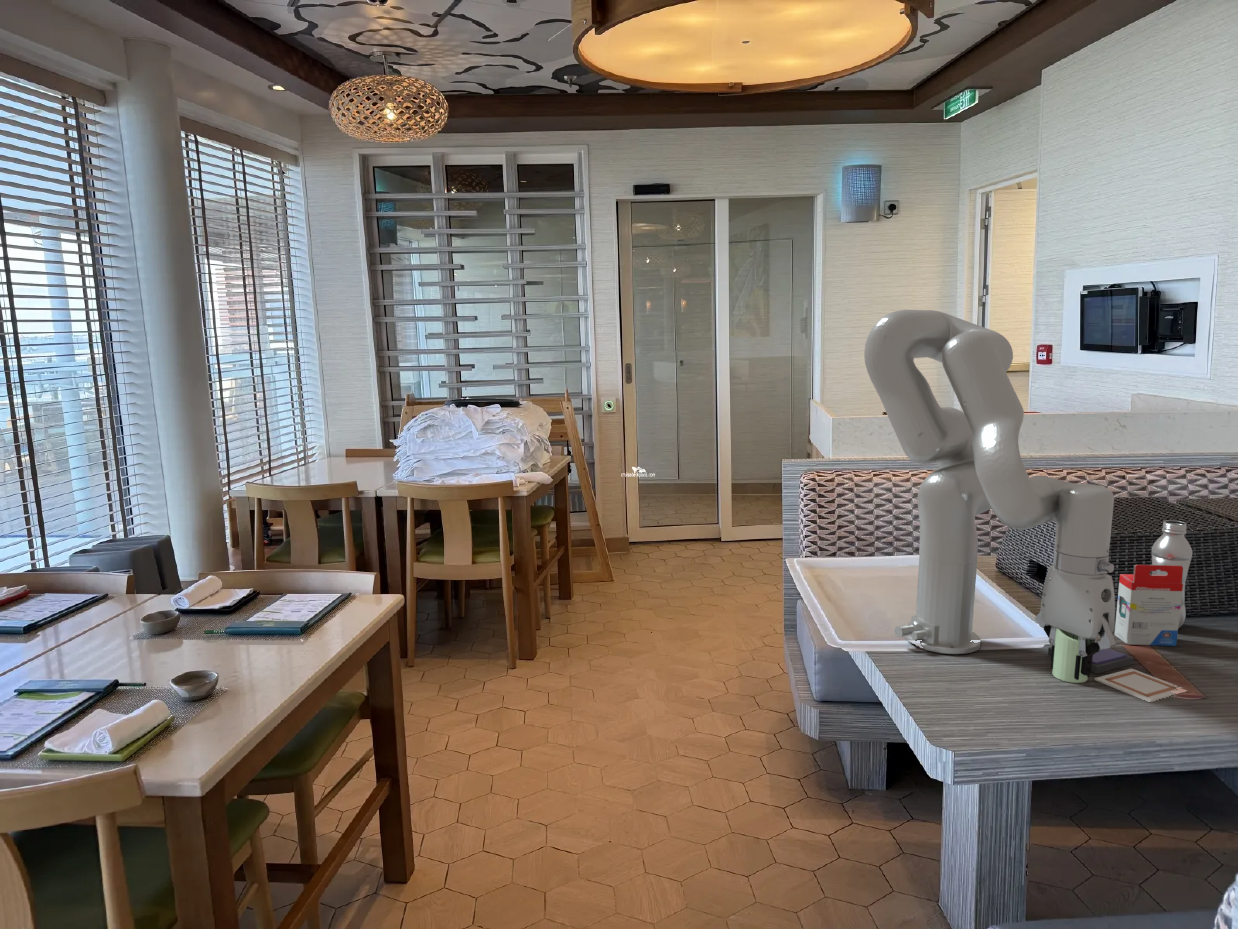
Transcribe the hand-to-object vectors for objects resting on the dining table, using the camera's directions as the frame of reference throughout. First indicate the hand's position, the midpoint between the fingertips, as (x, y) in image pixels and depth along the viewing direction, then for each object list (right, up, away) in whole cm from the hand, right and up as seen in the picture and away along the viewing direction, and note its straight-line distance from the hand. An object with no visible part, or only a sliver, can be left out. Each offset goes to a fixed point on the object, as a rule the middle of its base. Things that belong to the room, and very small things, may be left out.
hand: (1070, 672), depth 136 cm
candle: (0, -1, 0) cm, 1 cm away
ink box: (+21, +2, +15) cm, 27 cm away
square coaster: (+9, -1, -3) cm, 10 cm away
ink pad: (+7, 0, +7) cm, 10 cm away
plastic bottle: (+29, +3, +22) cm, 37 cm away
